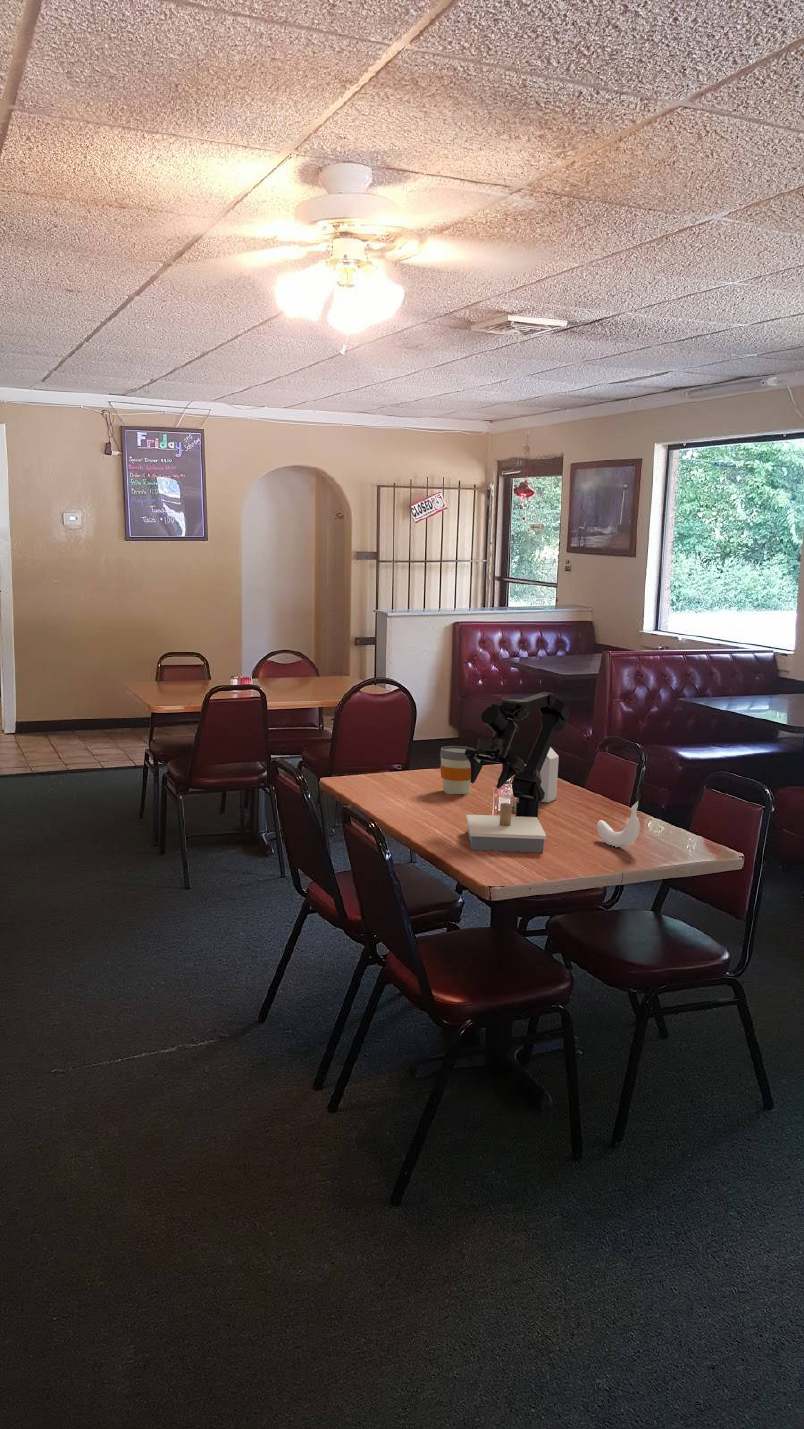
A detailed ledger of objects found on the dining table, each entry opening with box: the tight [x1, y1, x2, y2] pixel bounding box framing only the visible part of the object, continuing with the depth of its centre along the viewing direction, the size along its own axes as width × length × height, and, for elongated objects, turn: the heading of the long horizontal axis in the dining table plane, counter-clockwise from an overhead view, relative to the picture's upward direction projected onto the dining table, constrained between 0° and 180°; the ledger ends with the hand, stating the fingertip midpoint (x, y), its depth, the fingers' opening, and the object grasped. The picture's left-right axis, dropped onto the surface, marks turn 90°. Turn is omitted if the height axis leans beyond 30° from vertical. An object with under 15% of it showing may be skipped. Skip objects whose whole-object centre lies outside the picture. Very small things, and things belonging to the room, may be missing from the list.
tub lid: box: [465, 802, 547, 840], centre depth 307 cm, size 21×21×8 cm
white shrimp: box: [596, 801, 641, 849], centre depth 307 cm, size 5×19×15 cm, turn 28°
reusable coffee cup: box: [439, 745, 472, 795], centre depth 369 cm, size 13×13×15 cm
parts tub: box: [467, 826, 545, 853], centre depth 308 cm, size 20×20×4 cm
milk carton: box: [540, 746, 560, 804], centre depth 362 cm, size 7×7×19 cm
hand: (484, 785), depth 317 cm, fingers open, 9 cm apart
